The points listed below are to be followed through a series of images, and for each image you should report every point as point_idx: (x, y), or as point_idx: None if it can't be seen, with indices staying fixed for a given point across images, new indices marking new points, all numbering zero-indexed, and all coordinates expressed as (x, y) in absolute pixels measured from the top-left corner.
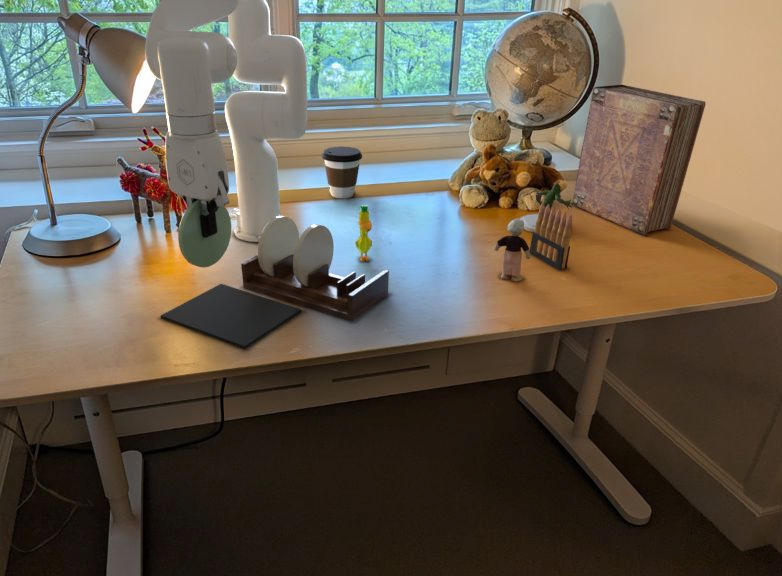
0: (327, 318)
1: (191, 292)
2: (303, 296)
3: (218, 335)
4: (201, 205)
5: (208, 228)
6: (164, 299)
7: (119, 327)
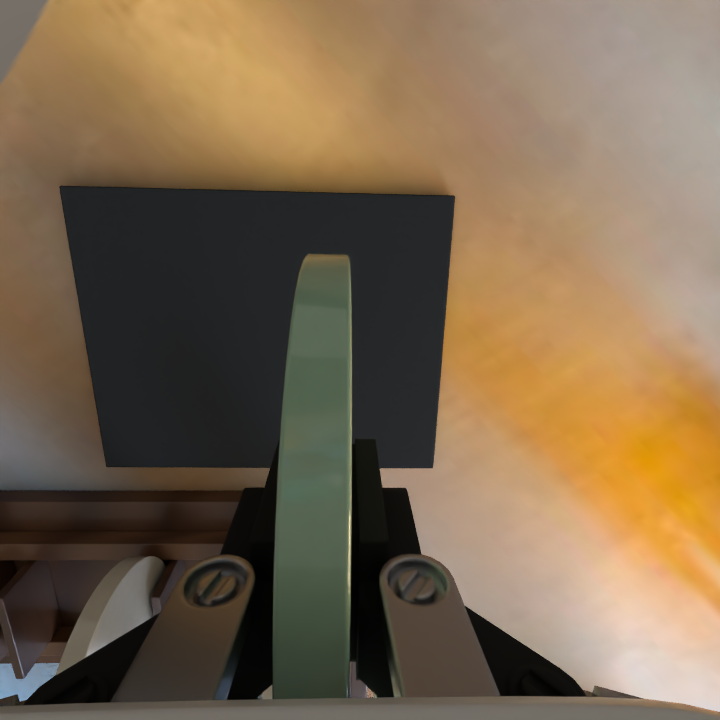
0: (23, 470)
1: (487, 387)
2: (143, 521)
3: (184, 195)
4: (224, 646)
5: (257, 498)
6: (533, 305)
7: (536, 60)
